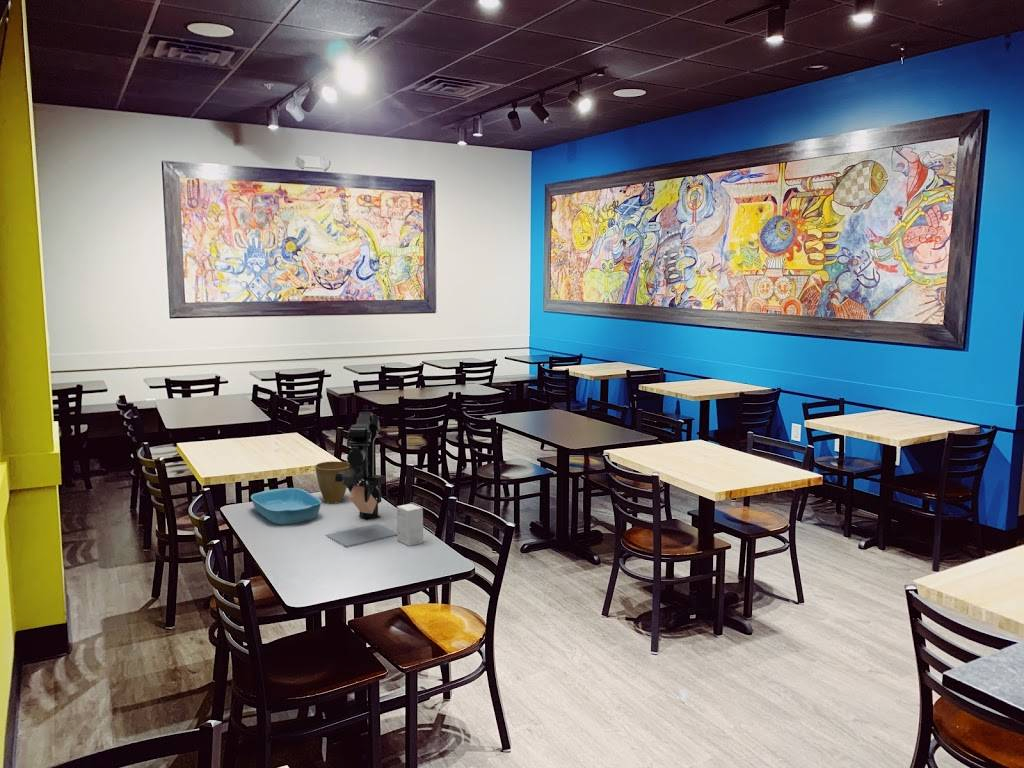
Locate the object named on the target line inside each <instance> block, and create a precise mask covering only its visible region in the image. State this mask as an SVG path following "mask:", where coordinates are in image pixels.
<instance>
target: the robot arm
mask: <svg viewBox="0 0 1024 768" xmlns="http://www.w3.org/2000/svg"><path fill="white" fill-rule="evenodd" d="M380 424H381V423H380V419H379V417H377V416H375V415H374V414H373V412H372V411H361V412H359V414H358V417H357V418H356V424H352V425H351V426H350V427H349V429H347V430H348V431H347V440H346V447H347V448H349V447H350V451H349V452H348V454H347V457H346V460H347V461H346V462H347V463H349V464H350V465H349V469H348V470H347V471H342V472H340V473H337V474H336V475H335V481H336V482H342V481H343V483H342V484H344V485H346V486H347V489H348V491H349V494H350V493H351V491H352V488H353V486H362V487H364V488H365V502H368V500H369V497H370V495H372V496H373V497H374V499H375V500H376V501H377V504H376V506H375V508H374V511H373V513H372V514H371V513H363V512H360V511H359V515H358V517H359V518H361V519H363V520H366V521H367V520H373V519H377V518H381V515H379V504H380V503H382V492H381V491H380V488H378V487H379V486H381V485H384V484H386V477H385V475H383V474H382V475H381V474H374V473H375V470H374V469H375V440H376V438H377V436H378V435H379V431H380V427H381V426H380ZM358 482H359V484H358Z"/></svg>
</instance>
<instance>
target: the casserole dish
mask: <svg viewBox="0 0 1024 768" xmlns="http://www.w3.org/2000/svg"><path fill="white" fill-rule="evenodd" d="M250 499H251V502H252V504H253V507H254V509H255V510H256V512H257V513H258V514H259V515H261V516H263V517H264V518H265V519H267V520H268V521H270V522H271V523H273V524H275V523H276V525H279V524H283V525H289V524H290V523H291V524H295V523H296V524H297V523H301V522H307V521H310V520H313V519H314V518H316V517H317V515H318V514H319V511H320V508H321V504H322V500H321V499H320V498H318V497H316V496H315V495H313V494H312V493H310V492H308V491H306V490H304V489H302V488H297V487H288V488H274V489H267V490H263V491H260V492H257V493H256V492H255V493H253V494H251V496H250ZM284 503H285V504H284Z"/></svg>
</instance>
